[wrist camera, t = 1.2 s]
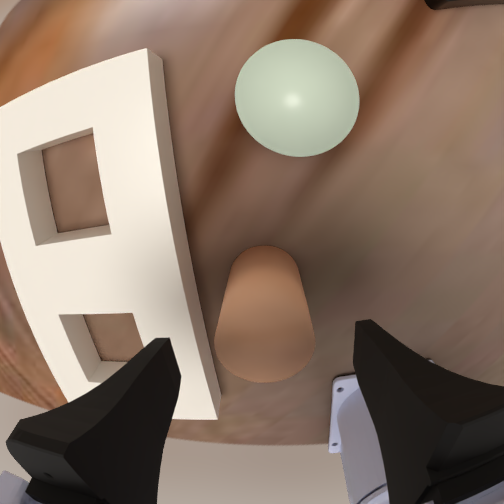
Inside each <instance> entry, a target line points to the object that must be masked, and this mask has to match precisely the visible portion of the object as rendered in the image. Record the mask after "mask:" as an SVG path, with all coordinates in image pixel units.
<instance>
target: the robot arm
mask: <svg viewBox="0 0 504 504" xmlns="http://www.w3.org/2000/svg"><path fill="white" fill-rule="evenodd" d="M353 365H354V369H355V373H356V375H349V376H343V377H338V378H336V379H335V380H334V381H333V388H332V405H331V420H330V432H329V444H328V451H329V452H330V453H338V452H340V454H341V459H342V464H343V469H344V474H345V479H346V485H347V491H348V496H349V501H350V504H504V387H503V386H498V385H492V384H487V383H483V382H480V381H476V380H473V379H470V378H467V377H464V376H461V375H458V374H456V373H453V372H451V371H449V370H446V369H444V368H442V367H440V366H438V365H436V364H434V362H433V360H427V359H425V358H423V357H422V356H420V355H419V354H417V353H415V352H414V351H412V350H411V349H409V348H408V347H406V346H405V345H404V344H402V343H401V342H399V341H398V340H397V339H395V338H394V337H393V336H392V335H390V334H389V333H388V332H386V331H385V330H384V329H383V328H381V327H380V326H379V325H378V324H376V323H375V322H374V321H372V320H371V319H369V320H362V321H356V323H355V340H354V354H353ZM181 377H182V376H181V373H180V370H179V366H178V363H177V360H176V357H175V354H174V350H173V347H172V344H171V340H170V337H168V338H155V339H153V340H152V341H151V342H150V343H149V344H147V345H146V346H145V347H144V348H143V349H142V350H141V351H140V352H139V353H137V354H136V355H135V356H134V357H133V358H132V359H131V360H130V361H128V362H127V363H126V364H125V365H124V366H123V367H121V368H120V369H119V370H118V371H117V372H115V373H114V374H113V375H112V376H110V377H109V378H108V379H107V380H105V381H104V382H102V383H101V384H100V385H98V386H97V387H95V388H94V389H92V390H90V391H89V392H87V393H86V394H84V395H82V396H80V397H78V398H76V399H74V400H73V401H71V402H69V403H67V404H65V405H62V406H60V407H58V408H55V409H53V410H50V411H48V412H45V413H42V414H39V415H36V416H32V417H28V418H25V419H21V420H20V421H19V422H18V424H17V425H16V427H15V428H14V430H13V431H12V433H11V434H10V436H9V438H8V439H7V441H6V445H7V448H8V450H9V452H10V453H11V455H12V456H13V457H14V459H15V460H16V461H17V462H18V463H19V464H20V465H21V466H22V467H23V468H24V469H25V471H27V472H28V474H29V475H30V476H31V477H32V479H31V481H30V483H28V482H27V481H26V480H24V479H22V478H20V477H18V476H16V475H14V474H12V473H9V472H7V471H3V472H2V474H1V475H0V504H157V492H158V482H159V474H160V466H161V460H162V453H163V448H164V444H165V440H166V437H167V433H168V430H169V427H170V423H171V420H172V417H173V414H174V410H175V407H176V404H177V400H178V397H179V391H180V384H181ZM340 387H342V388H340ZM338 388H340V389H338Z"/></svg>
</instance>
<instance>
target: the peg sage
mask: <svg viewBox="0 0 504 504" xmlns="http://www.w3.org/2000/svg"><path fill="white" fill-rule="evenodd" d="M235 103H236V108H237V112H238V115H239V117H240V119H241V121H242V123H243V125H244V127H245V128H246V130H247V131H248V132H249V133H250V135H251V136H252V137H253V138H254V139H255V140H257V141H258V142H259V143H260V144H262V145H263V146H265V147H266V148H268V149H270V150H272V151H274V152H277V153H280V154H283V155H288V156H295V157H306V156H313V155H317V154H321V153H323V152H326V151H328V150H330V149H331V148H333V147H335V146H336V145H337V144H339V143H340V142H341V141H342V140H343V139H344V138H345V137H346V136H347V135H348V133H349V132H350V131H351V129H352V127H353V125H354V124H355V121H356V118H357V115H358V110H359V92H358V86H357V83H356V80H355V78H354V76H353V74H352V72H351V70H350V69H349V67H348V66H347V65H346V63H345V62H344V61H343V60H342V59H341V58H340V57H339V56H338V55H337V54H335V53H334V52H333V51H331V50H330V49H328V48H326V47H324V46H322V45H320V44H317V43H315V42H311V41H307V40H300V39H289V40H281V41H277V42H274V43H271V44H269V45H267V46H265V47H263V48H261V49H260V50H258V51H257V52H256V53H254V54H253V55H252V56H251V57H250V58H249V59H248V60H247V62H246V63H245V64H244V66H243V68H242V69H241V71H240V73H239V76H238V78H237V82H236V87H235Z"/></svg>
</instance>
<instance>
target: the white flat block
mask: <svg viewBox="0 0 504 504" xmlns="http://www.w3.org/2000/svg"><path fill="white" fill-rule="evenodd" d="M92 133H94V141H95V148H96V155H97V161H98V167H99V173H100V179H101V185H102V190H103V196H104V201H105V206H106V211H107V216H108V220H109V225H105V226H98V227H92V228H86V229H80V230H74V231H68V232H63V233H58V232H57V228H56V224H55V220H54V216H53V211H52V207H51V202H50V197H49V192H48V187H47V181H46V175H45V169H44V163H43V156H42V150H43V149H46V148H49V147H52V146H54V145H57V144H60V143H63V142H66V141H69V140H73V139H76V138H79V137H82V136H86V135H89V134H92ZM0 241H1V245H2V249H3V252H4V255H5V259H6V262H7V265H8V268H9V271H10V275H11V278H12V280H13V283H14V286H15V289H16V292H17V295H18V297H19V300H20V303H21V305H22V308H23V310H24V313H25V315H26V318H27V320H28V323H29V325H30V327H31V330H32V332H33V334H34V336H35V339H36V341H37V343H38V345H39V347H40V349H41V351H42V354H43V356H44V358H45V360H46V362H47V364H48V366H49V368H50V370H51V371H52V373H53V375H54V377H55V379H56V381H57V383H58V385H59V386H60V388H61V390H62V392H63V393H64V395H65V397H66V399H67V400H68V402H71V401H73V400H74V399H76V398H78V397H80V396H82V395H84V394H86V393H87V392H89V391H90V390H92V389H94V388H95V387H97V386H98V385H100V384H101V383H102V382H104V381H105V380H107V379H108V378H109V377H110V376H112V375H113V374H114V373H115V372H117V371H118V370H119V369H120V368H121V367H123V366H124V365H125V364H126V363H127V362H114V361H101V359H100V357H99V355H98V352H97V350H96V347H95V345H94V343H93V340H92V338H91V335H90V333H89V330H88V327H87V325H86V322H85V320H84V317H83V314H107V313H133V315H134V318H135V321H136V324H137V328H138V331H139V334H140V337H141V340H142V343H143V345H144V347H145V346H146V345H147V344H149V343H150V342H151V341H152V340H153V339H155V338H168V337H170V340H171V344H172V347H173V350H174V354H175V357H176V360H177V363H178V366H179V370H180V373H181V376H182V377H181V384H180V391H179V397H178V400H177V404H176V407H175V410H174V414H173V417H172V419H200V420H217V419H218V413H219V407H220V400H221V392H220V388H219V384H218V380H217V376H216V371H215V367H214V363H213V359H212V355H211V351H210V346H209V342H208V338H207V333H206V329H205V324H204V320H203V315H202V310H201V306H200V301H199V296H198V291H197V286H196V282H195V277H194V272H193V266H192V261H191V256H190V251H189V245H188V240H187V234H186V229H185V223H184V217H183V211H182V205H181V199H180V193H179V187H178V180H177V174H176V167H175V160H174V154H173V146H172V139H171V132H170V124H169V116H168V108H167V99H166V90H165V81H164V71H163V61H162V59H161V58H160V57H159V56H157V55H156V54H154V53H153V52H152V51H150V50H149V49H148V48H145V49H142V50H138V51H135V52H131V53H128V54H124V55H121V56H118V57H115V58H112V59H109V60H106V61H103V62H100V63H97V64H94V65H91V66H89V67H86V68H83V69H81V70H78V71H76V72H73V73H71V74H68V75H66V76H63V77H61V78H59V79H56V80H54V81H52V82H49V83H47V84H45V85H43V86H41V87H39V88H36V89H34V90H32V91H30V92H28V93H26V94H24V95H22V96H20V97H18V98H16V99H14V100H13V101H11V102H9V103H7V104H5V105H3V106H2V107H0Z"/></svg>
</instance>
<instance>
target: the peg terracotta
mask: <svg viewBox="0 0 504 504" xmlns="http://www.w3.org/2000/svg"><path fill="white" fill-rule="evenodd" d="M214 347H215V352H216V355H217V357H218V359H219V361H220V362H221V363H222V365H223V366H224V367H225V368H226V369H227V370H228V371H229V372H231V373H232V374H234V375H236V376H238V377H239V378H242V379H245V380H248V381H252V382H259V383H270V382H277V381H281V380H284V379H287V378H289V377H291V376H293V375H295V374H297V373H298V372H299V371H301V370H302V369H303V368H304V367H305V366H306V365H307V364H308V362H309V361H310V359H311V357H312V355H313V353H314V349H315V335H314V330H313V326H312V322H311V318H310V314H309V310H308V306H307V302H306V298H305V294H304V290H303V286H302V282H301V278H300V274H299V270H298V267H297V265H296V263H295V261H294V259H293V258H292V257H291V256H290V255H289V254H288V253H287V252H285V251H284V250H282V249H280V248H277V247H274V246H268V245H260V246H255V247H252V248H249V249H247V250H245V251H244V252H242V253H241V254H240V255H239V256H238V257H237V258H236V259H235V261H234V262H233V264H232V267H231V269H230V274H229V278H228V282H227V286H226V290H225V295H224V299H223V303H222V307H221V312H220V316H219V320H218V325H217V329H216V333H215V338H214Z"/></svg>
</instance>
